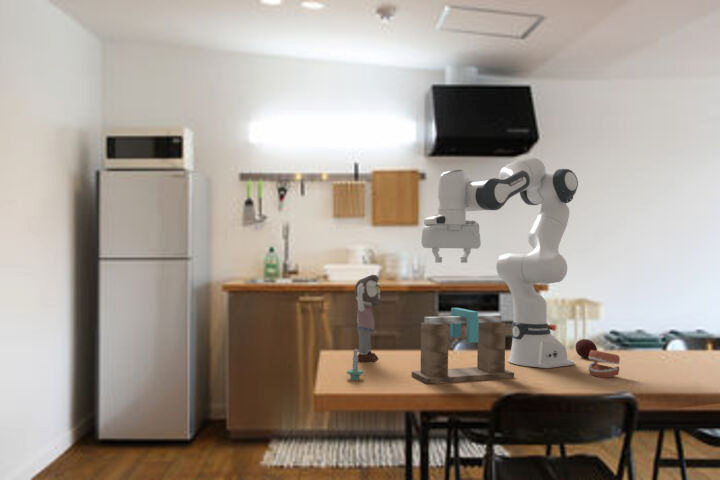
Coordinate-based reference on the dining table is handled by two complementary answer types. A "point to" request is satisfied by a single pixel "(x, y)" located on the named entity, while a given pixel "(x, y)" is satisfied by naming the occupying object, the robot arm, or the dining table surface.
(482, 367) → the shelf
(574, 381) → the dining table surface
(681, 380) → the dining table surface
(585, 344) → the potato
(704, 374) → the dining table surface
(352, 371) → the screw
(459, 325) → the teal stepped bracket
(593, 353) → the dentures
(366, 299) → the figurine
